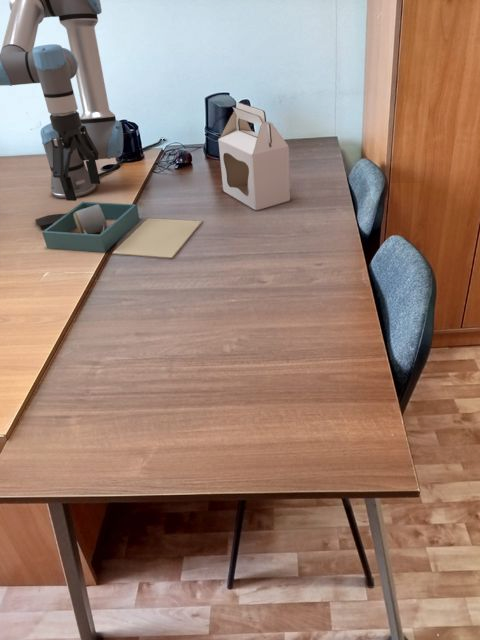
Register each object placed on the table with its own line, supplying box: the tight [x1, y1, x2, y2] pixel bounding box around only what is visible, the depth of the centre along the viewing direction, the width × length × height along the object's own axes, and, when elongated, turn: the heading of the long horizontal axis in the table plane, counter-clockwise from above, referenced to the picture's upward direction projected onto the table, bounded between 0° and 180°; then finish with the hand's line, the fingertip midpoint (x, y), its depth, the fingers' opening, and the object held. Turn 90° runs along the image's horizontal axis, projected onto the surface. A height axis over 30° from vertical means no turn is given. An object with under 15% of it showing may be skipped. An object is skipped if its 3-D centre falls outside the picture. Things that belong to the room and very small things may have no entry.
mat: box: [111, 217, 203, 260], centre depth 156 cm, size 24×18×1 cm
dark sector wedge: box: [34, 212, 68, 231], centre depth 169 cm, size 8×14×2 cm, turn 120°
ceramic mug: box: [73, 204, 108, 234], centre depth 158 cm, size 11×8×8 cm
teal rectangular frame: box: [41, 201, 140, 253], centre depth 159 cm, size 23×19×5 cm
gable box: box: [217, 102, 291, 211], centre depth 169 cm, size 22×13×28 cm, turn 32°
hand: (84, 191), depth 152 cm, fingers open, 13 cm apart
